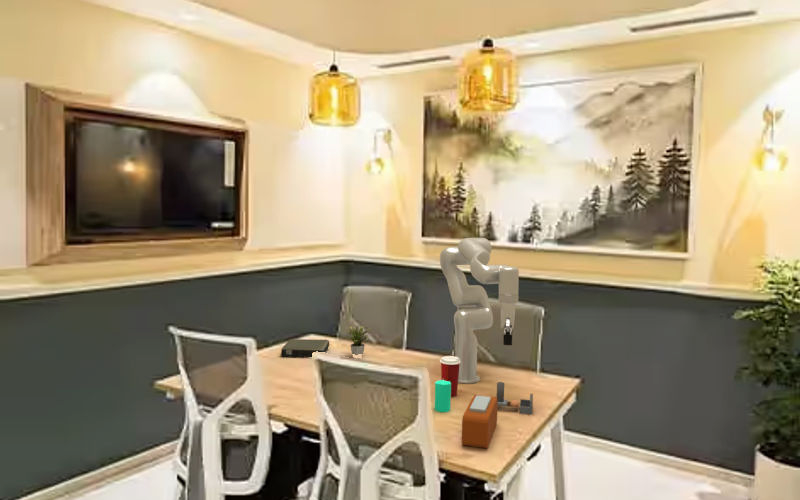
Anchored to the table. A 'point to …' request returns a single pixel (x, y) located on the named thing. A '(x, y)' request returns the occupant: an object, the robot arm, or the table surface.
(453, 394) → the coffee cup
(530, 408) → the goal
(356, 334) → the house plant
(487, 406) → the alarm clock
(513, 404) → the ball
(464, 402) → the table surface
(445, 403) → the candle
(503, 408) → the frame
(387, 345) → the table surface
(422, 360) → the table surface
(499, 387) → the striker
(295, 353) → the network switch
